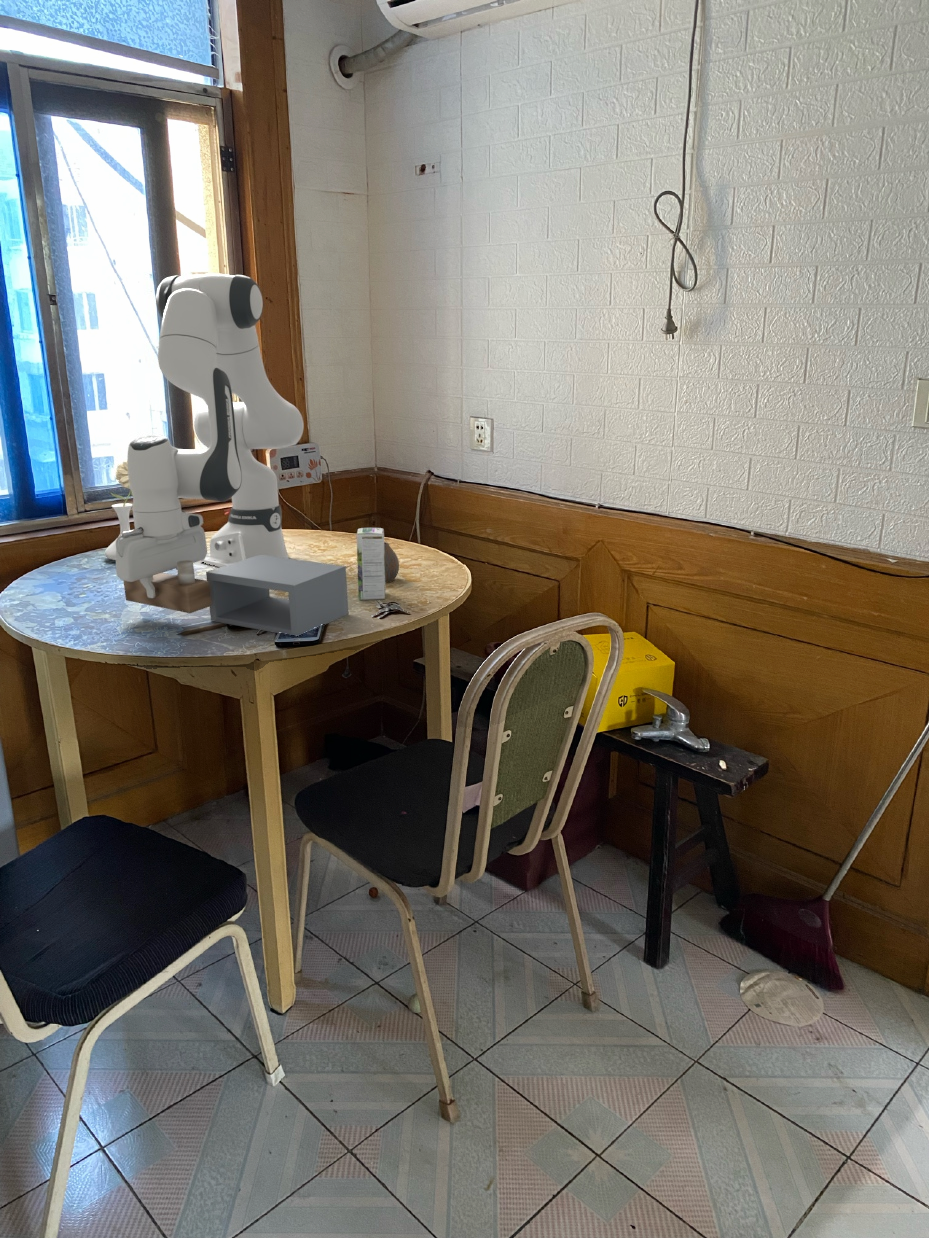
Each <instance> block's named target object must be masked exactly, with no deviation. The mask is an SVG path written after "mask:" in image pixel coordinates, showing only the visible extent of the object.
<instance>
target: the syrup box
mask: <svg viewBox="0 0 929 1238" xmlns="http://www.w3.org/2000/svg"><path fill="white" fill-rule="evenodd" d="M384 542H385V530H384V528H381V527H361V528H358V529H357V532H356V555H357V556H356V561H357V562H356V563H357V583H358V584H357V586H358V592H357V593H358V600H361V601H363V600H364V601H366V600H368V601H370V600H383V599H386V582H385V555H384Z"/></svg>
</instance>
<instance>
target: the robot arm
mask: <svg viewBox="0 0 929 1238" xmlns="http://www.w3.org/2000/svg"><path fill="white" fill-rule="evenodd" d="M155 294H156V295H155V301H156V303H155V304H156V308H157V311H158V314H159V316H160V318H161V319H162V320H161V324H160V331H159V337H158V339H159V340H158V349H157V350H158V351H157V357H158V358H157V361H158V367H159V369H160V372H161V373H162V375H163V376H164V377H165V379H166V380H167V381H169V382H170V383H171V384H172V385H173V386H175V387H177V388H178V389H180V390H182V391H184V392H186V393H189V394H191V395H194V396H196V397H199V398H201V399H202V400H203V401H204V402H205V404H206V405H202V406H201V407H200V408H199V409H198V411H197V412H196V415H195V417H194V422H193V424H194V427H193V429H194V432H195V435H196V437H197V439H198V440H199V441H200V443H202V445H204V447H206V449H183V448H179V447H175V446H173V445H172V444H171V441H170V439H169V438H168V437H167V436H165V435H161V434H159V435H155V434H154V435H153V434H152V435H146V436H141V437H137V438H135V439H134V440H132V441H131V442H130V443H129V444H128V447H127V460H126V461H127V464H128V478H129V486H130V489H131V492H132V494H133V496H132V498H133V500H132V504H133V505H132V507H131V510H132V516H133V518H132V519H133V523H134V524H133V525H134V529H130V531H125V532H122V533H121V535H120V534H119V535H120V536H119V535H118V537H116V539H117V540H116V539H115V540H116V560H115V571H116V572H115V573H116V576H117V578H118V579H119V580H121V581H129V582H134V581H137V580H140V582H141V583H142V585H143V586H144V587H145V588H146V591H147V596H148V598H155V597H158V596H159V593H158V592H159V589H158V588H156V587H154V586H153V584H152V583H151V581H153V575H156V574H159V573H166V572H168V571H172V570H176V571H177V562H179V561H184V560H190V561H193V564H195V563H197V562H200V563H202V562H204V563H203V564H205V563H206V565H209V564H210V566H213V565H215V566H214V567H218V568H220V567H224V566H227V565H230V564H233V563H236V562H239V561H243V560H246V559H249V558H252V557H255V556H258V555H267V556H274V557H282V558H289V559H290V557H289V554H288V551H287V547H286V544H285V539H284V538H285V537H284V534H283V529H282V519H283V517H282V515H283V514H282V506H281V504H279V503H280V502H279V491H278V477H277V475H276V473H275V472H274V470H273V469H272V467H269V466H268V465H266V464H264V463H262V462H259V461H258V460H257V459H256V458H255V457H254V455H253V453H252V450H265V449H266V450H268V449H269V450H272V449H273V450H275V449H276V450H278V449H283V448H287V447H291V446H292V447H293V446H296V445H297V444H298V443H299V442H300V439H301V438H302V437H303V433H304V426H305V425H304V419H303V415H302V413H301V412H300V411H299V409H298V408H297V407H296V406H295V405H294V404H292V403H290V402H289V401H287V400H286V399H285V398H283V397H282V396H281V395H280V394H279V393H278V392H277V390H276V389H275V388H274V386H273V385H272V384H271V382H270V380H269V378H268V376H267V372H266V370H265V367H264V366H265V365H264V361H263V358H262V354H261V353H262V352H261V348H260V343H259V337H258V332H257V327H256V325H257V323H259V321H260V319H261V318H262V315H263V306H264V305H263V304H264V302H263V295H262V291H261V288H260V286H259V285H258V283H257V282H256V281H255V279H253V278H252V277H249V276H246V275H242V274H235V275H230V274H223V273H206V274H193V275H192V274H191V275H190V274H189V275H184V276H181V275H179V274H178V275H172V276H168V277H165V278H164V279H163V280H162V281H161V282H160V283H159V285H158V286H157V289H156V292H155ZM233 395H235V396H236V397H238V398H239V399H240V400H241V401H234V400H233V398H234V397H233ZM130 489H129V490H130ZM180 499H185V500H187V499H188V500H189V499H190V500H205V501H213V502H222V503H224V502H226V501H229V500H230V499H231V503H232V507H231V508H228V509H224V512H225V513H224V515H225V516H227V515H228V520H227V523H225V524H224V525H223V526H222V527H221V528H220V529H218V531H216V532H215V534H213V535H212V536H211V538H210V542H209V553H208V547H207V538H206V533H205V530H204V528H203V527H202V526H203V524H204V518H203V516H202V515H201V514H197V513H192V512H186V511H184V510H182V504H181V501H180ZM121 537H122V538H121ZM120 538H121V539H120ZM176 575H178V573H177V574H176Z"/></svg>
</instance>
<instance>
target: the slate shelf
mask: <svg viewBox="0 0 929 1238" xmlns="http://www.w3.org/2000/svg"><path fill="white" fill-rule="evenodd" d="M205 574H206V576H205V577H206V581H209V586H210V596H211V605H212V606H210V607H209V614H210V621H212V622H217V623H222V624H227V625H233V626H238V627H244V628H250V629H254V630H261V631H266V632H269V633H270V632H271V633H276V634H280V633H279V632H282V633H287V634H291V635H297V636H298V635H301V634H303V633H304V632H306V631H309V630H310V629H313V628H314V627H317V626H319V625H321V624H325V625H327V624H330V623H332V622H333V621H337V620H339V619H341V618H343V617H345V616H347V615H349V602H348V601H349V600H348V587H347V586H348V584H347V583H348V582H347V566H346V565H338V564H331V563H324V562H316V561H310V560H302V559H296V558H290V557H289V558H282V557H274V556H267V555H258V556H255V557H252V558H249V559H246V560H243V561H239V562H236V563H233V564H230V565H227V566H224V567H218V568H215V569H212V570H208V571H206V572H205ZM270 590H271V591H279V592H284V593H288V598H287V599H286V598H280V597H273V596H271V595H270ZM291 635H290V636H291ZM303 635H304V634H303ZM297 636H296V637H297ZM301 636H302V635H301ZM298 637H299V636H298Z"/></svg>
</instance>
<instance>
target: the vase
mask: <svg viewBox="0 0 929 1238" xmlns="http://www.w3.org/2000/svg"><path fill="white" fill-rule="evenodd" d="M384 555H385V583H390V582H393V581H394V580H395V579H396V578H397V576H398V575H399V570H400V561H399V558H398V555H397V554H396V552H395V551H394V549H392V547H391V546H390V544H389V542H386V541H384Z"/></svg>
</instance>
